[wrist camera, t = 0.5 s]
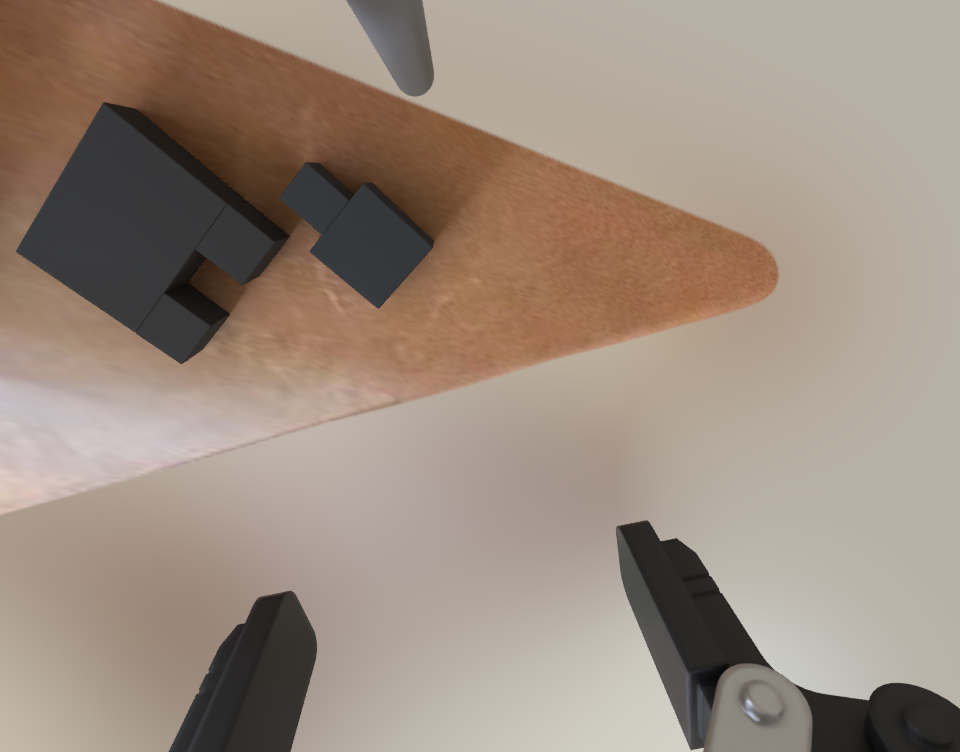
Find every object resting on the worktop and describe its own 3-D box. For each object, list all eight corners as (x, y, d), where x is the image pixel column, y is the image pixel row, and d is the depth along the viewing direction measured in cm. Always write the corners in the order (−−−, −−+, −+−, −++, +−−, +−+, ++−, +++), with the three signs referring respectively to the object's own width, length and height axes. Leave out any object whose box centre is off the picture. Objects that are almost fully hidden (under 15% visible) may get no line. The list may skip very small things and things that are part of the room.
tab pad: (281, 212, 34) (265, 216, 31) (332, 145, 33) (320, 142, 30) (383, 298, 37) (378, 309, 34) (434, 241, 36) (433, 247, 33)
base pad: (52, 245, 34) (14, 251, 31) (135, 108, 31) (102, 101, 28) (202, 349, 38) (181, 364, 35) (290, 236, 35) (275, 242, 32)
